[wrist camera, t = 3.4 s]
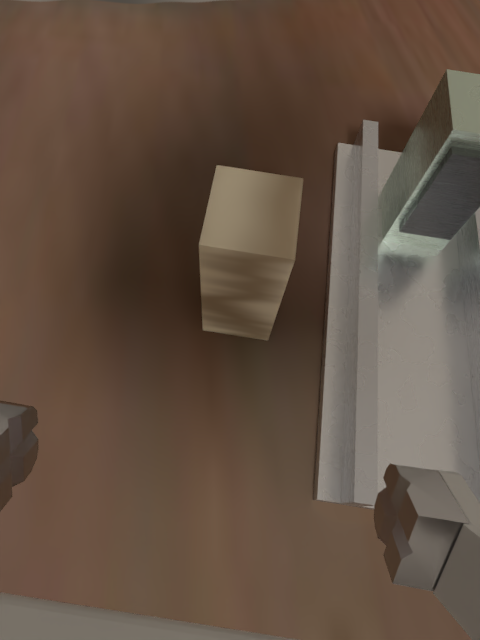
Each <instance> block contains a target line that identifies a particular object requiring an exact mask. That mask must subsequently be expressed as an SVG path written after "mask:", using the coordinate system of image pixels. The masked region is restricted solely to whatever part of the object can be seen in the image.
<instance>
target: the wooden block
mask: <svg viewBox="0 0 480 640" xmlns="http://www.w3.org/2000/svg"><path fill="white" fill-rule="evenodd" d="M302 188H303V178H297V177H291V176H284V175H278V174H272V173H265V172H259V171H252V170H246V169H240V168H233V167H227V166H220V165H217V166H216V170H215V175H214V179H213V184H212V188H211V193H210V197H209V202H208V206H207V210H206V215H205V219H204V224H203V228H202V233H201V237H200V242H199V260H200V282H201V304H202V326H203V330H204V331H210V332H217V333H223V334H229V335H236V336H242V337H248V338H255V339H261V340H267V341H268V339H269V336H270V333H271V330H272V327H273V324H274V321H275V318H276V315H277V312H278V309H279V306H280V303H281V300H282V297H283V294H284V291H285V288H286V285H287V282H288V279H289V276H290V273H291V270H292V268H293V265H294V262H295V256H296V246H297V236H298V227H299V217H300V207H301V197H302Z"/></svg>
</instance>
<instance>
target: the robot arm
mask: <svg viewBox="0 0 480 640" xmlns="http://www.w3.org/2000/svg"><path fill="white" fill-rule="evenodd" d="M37 423H38V417H37V410H36V409H35V408H34V407H33V406H28V405H22V404H17V403H11V402H6V401H0V511H1V510H2V509H3V508H4V506H5V505H6V504H7V502H8V501H9V500H10V499H11V497H12V487H13V486H15V485H17V484H19V483H21V482H23V481H25V479H26V478H27V476H28V475H29V474H30V472H31V471H32V468H33V466H34V464H35V461H36V459H37V453H38V438H37V437H36V436H35V434H34V433H33V432H32V429H33V428H34V427H35V426H36V425H37ZM383 479H384V481H385V484H386V488H384V489H383V490H382V491H380V492H379V493H378V495H377V498H376V502H375V506H374V523H375V529H376V532H377V536H378V538H379V539H380V540H381V541H382V542H383V543H384V544H385V545H386V549H385V552H384V558H385V561H386V565H387V568H388V571H389V574H390V577H391V580H392V583H393V584H397V585H403V586H408V587H413V588H419V589H424V590H429V591H434V593H433V594H434V595H435V596H436V597H437V598H438V600H439V601H440V602H441V603H442V604H443V606H444V607H445V608H446V609H447V610H448V612H449V613H450V614H451V615H452V616H453V617H454V619H455V620H456V621H457V622H458V623H459V625H460V626H461V627H462V628H463V629H464V631H465V632H466V633H467V634H468V635H469V636H470V638H471V639H472V640H480V503H479V501H478V500H477V498H476V497H475V495H474V494H473V492H472V491H471V489H470V488H469V486H468V485H467V483H466V482H465V480H464V478H463V477H462V476H461V475H460V474H458V473H457V472H451V471H443V470H435V469H434V470H431V469H424V468H417V467H411V466H404V465H397V464H389V466H388V467H387V468H386V471H385V474H384V477H383ZM0 640H297V639H291V638H285V637H279V636H272V635H266V634H260V633H254V632H247V631H241V630H235V629H229V628H222V627H216V626H210V625H203V624H197V623H191V622H184V621H178V620H172V619H166V618H159V617H153V616H147V615H140V614H134V613H128V612H121V611H115V610H109V609H102V608H96V607H90V606H84V605H77V604H71V603H65V602H58V601H52V600H46V599H39V598H33V597H27V596H21V595H14V594H8V593H2V592H0Z"/></svg>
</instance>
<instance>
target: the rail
mask: <svg viewBox="0 0 480 640" xmlns="http://www.w3.org/2000/svg"><path fill="white" fill-rule="evenodd" d="M389 464H397V465H404V466H411V467H417V468H424V469H431V470H434V469H435V470H443V471H451V472H457V473H458V474H460V475H461V476H462V477H463V478H464V480H465V482H466V483H467V485H468V486H469V488H470V489H471V491H472V492H473V494H474V495H475V497H476V498H477V500H478V501H479V503H480V74H474V73H467V72H461V71H454V70H448V69H447V70H446V71H445V73H444V75H443V77H442V79H441V81H440V83H439V85H438V86H437V88H436V90H435V92H434V94H433V96H432V98H431V100H430V101H429V103H428V105H427V107H426V109H425V111H424V113H423V114H422V116H421V118H420V120H419V122H418V124H417V126H416V128H415V129H414V131H413V133H412V135H411V137H410V139H409V141H408V143H407V144H406V146H405V148H404V150H403V152H402V153H401V152H395V151H388V150H382V149H378V122H375V121H368V120H363V121H362V124H361V127H360V129H359V132H358V134H357V137H356V139H355V142H354V145H350V144H344V143H338V144H337V147H336V150H335V159H334V175H333V191H332V207H331V223H330V239H329V255H328V271H327V287H326V303H325V319H324V335H323V351H322V367H321V383H320V399H319V415H318V431H317V446H316V462H315V478H314V494H313V500H317V501H324V502H330V503H336V504H343V505H349V506H355V507H362V508H368V509H374V506H375V502H376V498H377V495H378V493H379V492H380V491H382V490H383V489H384V488H386V484H385V481H384V479H383V477H384V474H385V471H386V468H387V467H388V466H389Z"/></svg>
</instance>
